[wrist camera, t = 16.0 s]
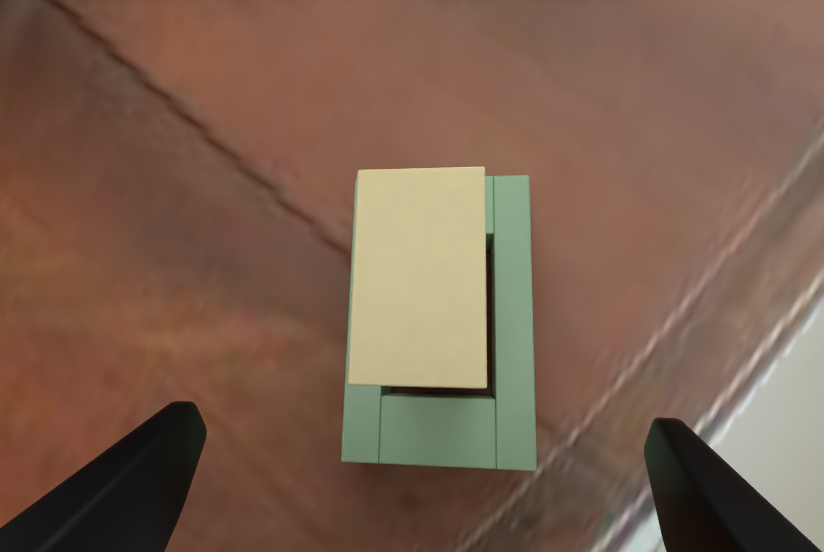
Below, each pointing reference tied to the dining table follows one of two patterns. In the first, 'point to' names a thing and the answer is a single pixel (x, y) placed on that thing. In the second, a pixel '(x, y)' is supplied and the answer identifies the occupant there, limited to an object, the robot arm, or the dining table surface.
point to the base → (465, 414)
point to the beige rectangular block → (419, 279)
